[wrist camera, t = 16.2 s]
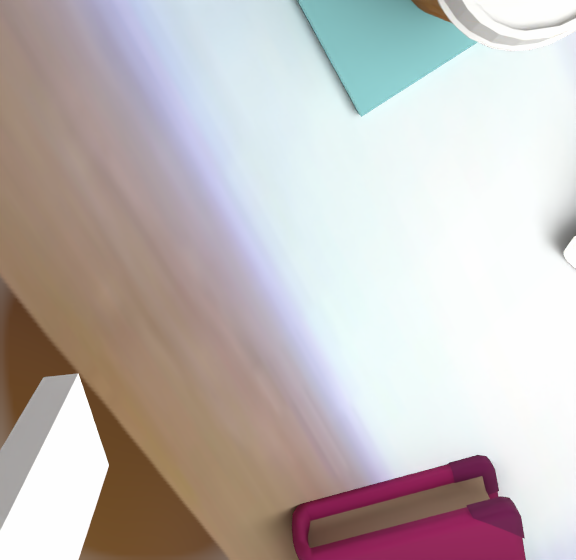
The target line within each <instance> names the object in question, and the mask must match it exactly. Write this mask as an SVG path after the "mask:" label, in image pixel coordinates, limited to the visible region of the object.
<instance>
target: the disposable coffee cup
mask: <svg viewBox="0 0 576 560" xmlns="http://www.w3.org/2000/svg"><path fill="white" fill-rule="evenodd" d="M412 2H413V3H414V4H415V5H416V6H417V7H418V8H419V9H421V10H422V11H424V12H425V13H428V14H430V15H433V16H435V17H438V18H440V19H443V20H445V21H448V22H450V23H452V24H454V25H455V26H456V27H457V28H458V29H459V30H460V31H461V32H462V33H463V34H464V35H466V36H467V37H468V38H470V39H472V40H475V41H477V42H479V43H481V44H483V45H485V46H487V47H490V48H494V49H501V50H507V51H519V50H531V49H535V48H538V47H541V46H545V45H548V44H552V43H554V42H556V41H557V40H559V39H561V38H563V37H565V36H567V35H569V34H571V33H573V32H574V31H575V30H576V0H412Z"/></svg>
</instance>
